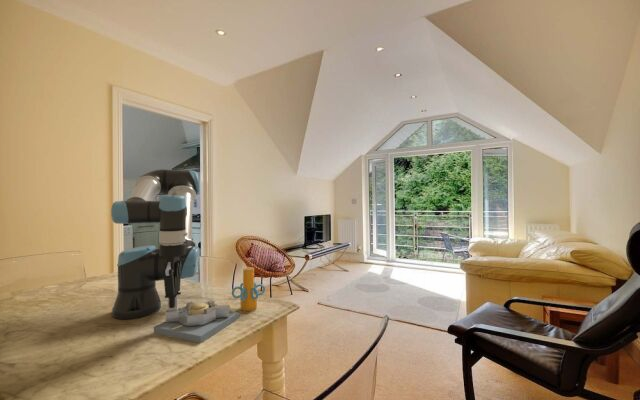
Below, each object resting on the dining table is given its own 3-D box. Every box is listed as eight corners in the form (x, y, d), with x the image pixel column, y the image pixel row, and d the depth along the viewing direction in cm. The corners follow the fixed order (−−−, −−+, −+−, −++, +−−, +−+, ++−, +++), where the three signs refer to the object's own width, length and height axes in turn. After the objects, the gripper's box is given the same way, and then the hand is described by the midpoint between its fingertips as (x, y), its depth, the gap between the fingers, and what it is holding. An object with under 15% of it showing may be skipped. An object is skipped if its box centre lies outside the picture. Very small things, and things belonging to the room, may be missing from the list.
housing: (153, 333, 88) (153, 311, 88) (197, 311, 105) (197, 293, 105) (200, 343, 82) (200, 320, 82) (238, 318, 99) (238, 299, 99)
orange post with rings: (254, 316, 101) (254, 273, 101) (227, 313, 103) (227, 271, 103) (268, 303, 113) (268, 265, 113) (243, 301, 115) (243, 264, 115)
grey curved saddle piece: (161, 328, 86) (161, 315, 86) (171, 313, 97) (171, 302, 97) (227, 322, 90) (227, 309, 90) (230, 309, 101) (230, 297, 101)
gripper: (180, 246, 87) (180, 324, 87) (190, 240, 99) (190, 308, 100) (152, 247, 85) (153, 326, 86) (166, 240, 98) (166, 309, 98)
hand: (173, 316), depth 93 cm, fingers closed
